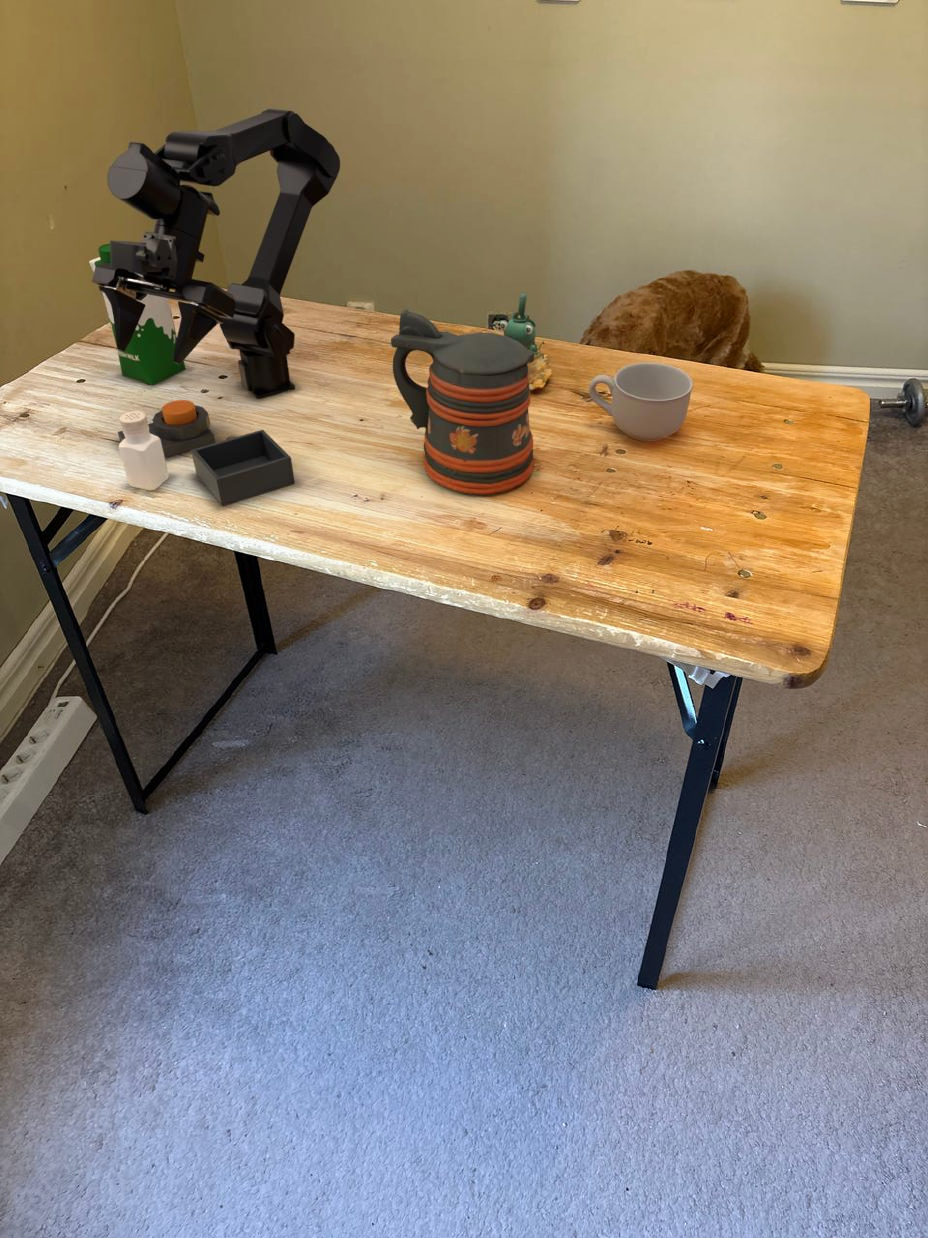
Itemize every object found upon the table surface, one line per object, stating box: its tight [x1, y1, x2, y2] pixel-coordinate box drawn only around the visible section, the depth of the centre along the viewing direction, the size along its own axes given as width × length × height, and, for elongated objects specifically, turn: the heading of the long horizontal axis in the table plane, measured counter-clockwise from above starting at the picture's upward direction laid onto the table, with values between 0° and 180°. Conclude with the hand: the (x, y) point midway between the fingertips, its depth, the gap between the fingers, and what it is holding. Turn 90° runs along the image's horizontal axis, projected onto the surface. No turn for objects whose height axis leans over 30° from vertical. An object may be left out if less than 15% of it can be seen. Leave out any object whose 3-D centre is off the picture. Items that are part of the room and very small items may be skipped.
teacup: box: [588, 361, 694, 442], centre depth 126 cm, size 14×11×8 cm
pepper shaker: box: [118, 410, 170, 491], centre depth 116 cm, size 4×4×10 cm
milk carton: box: [89, 243, 187, 386], centre depth 138 cm, size 9×9×20 cm
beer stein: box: [390, 309, 535, 496], centre depth 115 cm, size 19×15×20 cm
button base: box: [117, 404, 216, 459], centre depth 126 cm, size 12×8×4 cm
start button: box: [161, 399, 197, 425], centre depth 125 cm, size 4×4×2 cm
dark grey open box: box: [190, 429, 296, 508], centre depth 118 cm, size 10×9×4 cm
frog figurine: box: [496, 292, 553, 392], centre depth 137 cm, size 10×18×15 cm, turn 144°
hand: (148, 356), depth 116 cm, fingers open, 9 cm apart
